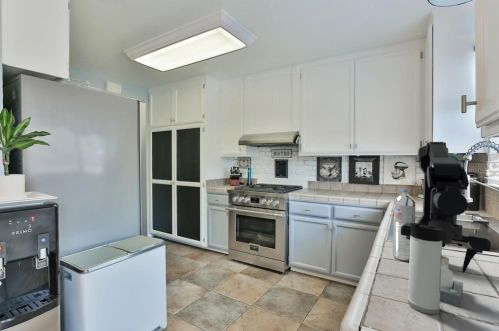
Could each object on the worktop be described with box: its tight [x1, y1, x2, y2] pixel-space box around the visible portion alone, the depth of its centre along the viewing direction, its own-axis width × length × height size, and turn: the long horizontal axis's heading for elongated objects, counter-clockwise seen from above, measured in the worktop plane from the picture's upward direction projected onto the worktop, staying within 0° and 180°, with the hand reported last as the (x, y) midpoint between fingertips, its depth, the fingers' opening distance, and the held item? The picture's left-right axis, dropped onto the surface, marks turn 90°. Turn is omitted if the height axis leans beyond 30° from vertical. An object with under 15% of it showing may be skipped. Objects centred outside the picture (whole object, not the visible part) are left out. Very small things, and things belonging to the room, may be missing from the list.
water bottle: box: [392, 189, 417, 262], centre depth 93 cm, size 7×7×25 cm
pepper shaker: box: [440, 254, 454, 289], centre depth 69 cm, size 4×4×10 cm
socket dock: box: [440, 279, 464, 308], centre depth 68 cm, size 10×9×3 cm
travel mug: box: [407, 222, 443, 315], centre depth 61 cm, size 6×7×20 cm
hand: (441, 267), depth 68 cm, fingers open, 9 cm apart
